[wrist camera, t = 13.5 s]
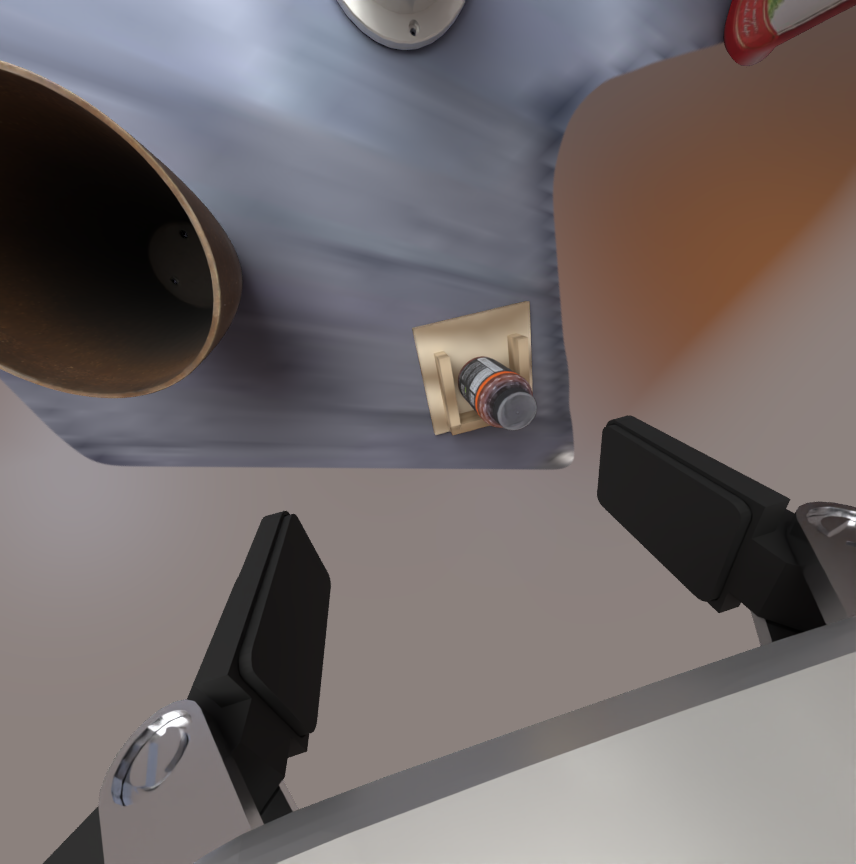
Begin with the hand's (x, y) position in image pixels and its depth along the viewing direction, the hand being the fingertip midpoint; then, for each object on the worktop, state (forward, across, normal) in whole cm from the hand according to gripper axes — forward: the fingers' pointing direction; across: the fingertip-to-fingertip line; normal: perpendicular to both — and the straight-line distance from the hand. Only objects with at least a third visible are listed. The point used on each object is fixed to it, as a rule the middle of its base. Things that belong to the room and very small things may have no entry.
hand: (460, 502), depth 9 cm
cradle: (+30, -10, +7) cm, 33 cm away
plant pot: (+31, +16, -10) cm, 36 cm away
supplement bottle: (+29, -10, +8) cm, 32 cm away
